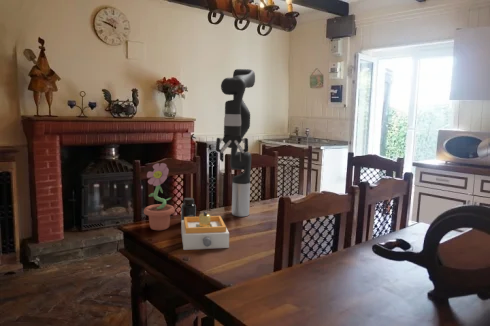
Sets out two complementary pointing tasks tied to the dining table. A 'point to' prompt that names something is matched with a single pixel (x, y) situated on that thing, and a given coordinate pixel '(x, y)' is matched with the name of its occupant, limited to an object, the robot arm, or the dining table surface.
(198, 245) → the white box with knob
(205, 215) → the oil can
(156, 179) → the decorative flower
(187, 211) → the supplement bottle
